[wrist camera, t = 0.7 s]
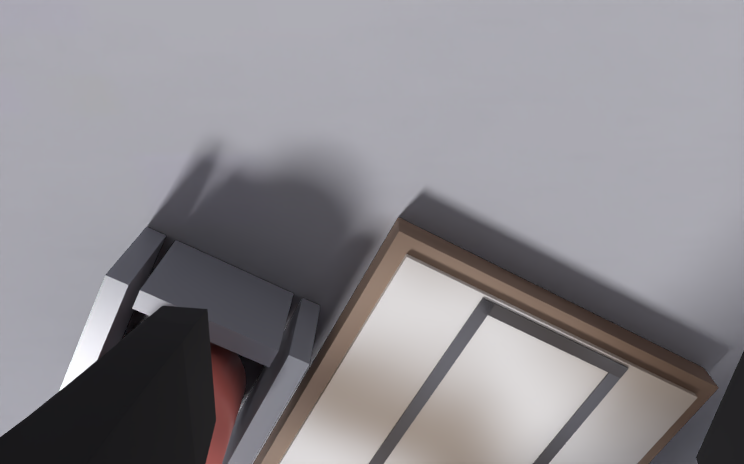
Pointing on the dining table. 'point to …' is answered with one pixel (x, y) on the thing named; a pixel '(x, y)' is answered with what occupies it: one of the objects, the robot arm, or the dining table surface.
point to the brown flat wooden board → (479, 373)
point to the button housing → (226, 325)
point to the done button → (225, 398)
